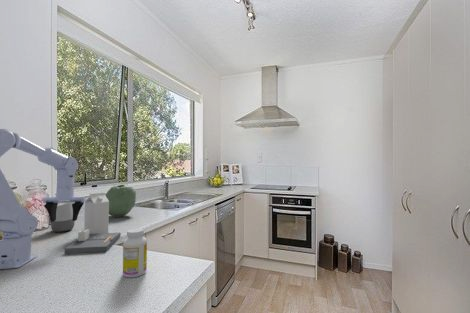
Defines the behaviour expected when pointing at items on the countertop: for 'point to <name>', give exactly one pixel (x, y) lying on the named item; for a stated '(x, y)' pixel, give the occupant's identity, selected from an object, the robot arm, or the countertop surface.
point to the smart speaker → (63, 218)
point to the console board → (93, 243)
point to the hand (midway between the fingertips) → (64, 220)
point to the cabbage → (121, 200)
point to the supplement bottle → (134, 253)
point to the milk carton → (97, 213)
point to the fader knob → (83, 235)
